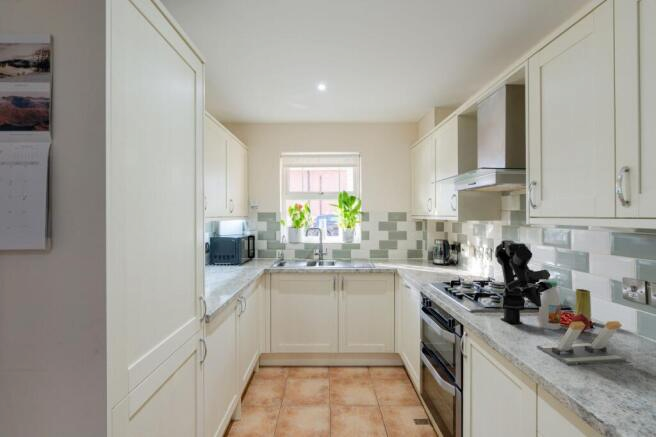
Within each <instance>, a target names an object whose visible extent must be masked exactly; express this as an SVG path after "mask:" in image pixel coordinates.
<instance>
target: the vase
mask: <svg viewBox="0 0 656 437" xmlns="http://www.w3.org/2000/svg"><path fill="white" fill-rule="evenodd" d="M574 299H575V302H574V316H576V315H578V314H579V313H582V314H583V315H584V316H585V317H586V318H587V319H588V321H591V322H592V320H591V318H592V317H591V315H592V314H591V291H590V290H588V289H584V288H577V289H575V298H574ZM574 316H573V317H574Z"/></svg>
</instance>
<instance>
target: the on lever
mask: <svg viewBox="0 0 656 437" xmlns="http://www.w3.org/2000/svg"><path fill="white" fill-rule="evenodd" d="M621 327H622V323H621V322H619V321H618V320H617V321H616V320H614V321H607V322H606V324H605V325H604V327H603V328H602V330H600V332H599V334H597V336H596V337H595V339H594V340H593V341H592V343H591V345H590V347H591V348H594V350H599V349H602V348H603V347H606V345H607V344H608V343H609V341H610V340H611V338H612V337H613V336H614V335H615V333H616V332H617V331H618V330H619V329H621Z"/></svg>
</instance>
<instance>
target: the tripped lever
mask: <svg viewBox="0 0 656 437" xmlns="http://www.w3.org/2000/svg"><path fill="white" fill-rule="evenodd" d="M585 326H586V325H585V324H584V323H583V322H572V321H571V322H570V324H569V326H568V329H567V330H566V332H565V333H564V335H563V336H562V339H561V341H560V342H559V344H557V345H558V347H557V349H558V350H560V352H564V351H568V350H570V348H571V347H572V345H573V344H575V342H576V341H577V338H579V336H580V334H581V332H583V331H582V329H584V327H585Z"/></svg>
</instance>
